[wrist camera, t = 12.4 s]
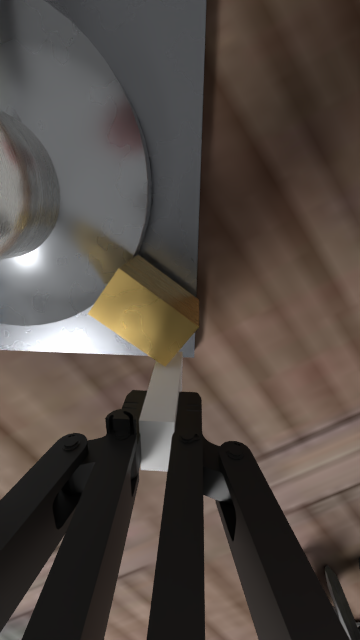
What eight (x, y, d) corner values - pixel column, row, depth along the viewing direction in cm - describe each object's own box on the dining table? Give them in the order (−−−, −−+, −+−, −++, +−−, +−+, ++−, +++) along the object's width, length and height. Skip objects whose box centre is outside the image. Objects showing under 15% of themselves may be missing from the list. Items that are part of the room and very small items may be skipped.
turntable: (119, 394, 24) (95, 448, 18) (-160, 214, 20) (-295, 215, 14) (273, 205, 18) (305, 201, 13) (-74, -96, 14) (-239, -284, 9)
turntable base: (-88, 339, 25) (-104, 346, 23) (-217, -48, 16) (-253, -71, 15) (194, 350, 24) (194, 358, 22) (208, -62, 15) (209, -88, 14)
